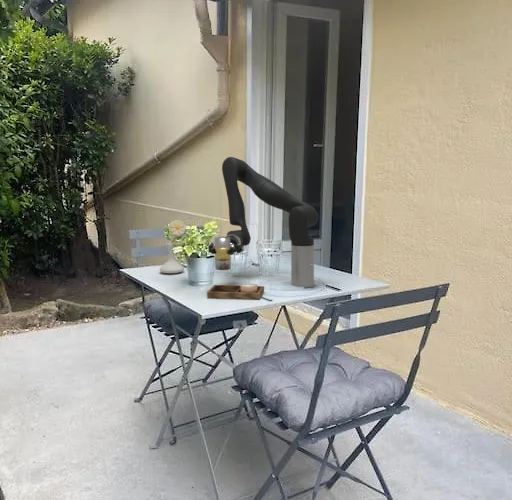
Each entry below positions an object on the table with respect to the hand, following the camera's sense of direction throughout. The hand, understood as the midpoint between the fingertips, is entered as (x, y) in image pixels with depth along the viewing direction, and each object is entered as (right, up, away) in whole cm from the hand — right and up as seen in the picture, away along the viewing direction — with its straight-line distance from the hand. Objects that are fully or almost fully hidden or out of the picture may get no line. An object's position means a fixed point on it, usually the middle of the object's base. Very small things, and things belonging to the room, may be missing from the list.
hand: (221, 251), depth 206 cm
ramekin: (+10, -17, +3) cm, 20 cm away
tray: (+6, -17, +4) cm, 19 cm away
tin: (0, -6, +4) cm, 7 cm away
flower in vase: (-26, -10, +49) cm, 57 cm away
